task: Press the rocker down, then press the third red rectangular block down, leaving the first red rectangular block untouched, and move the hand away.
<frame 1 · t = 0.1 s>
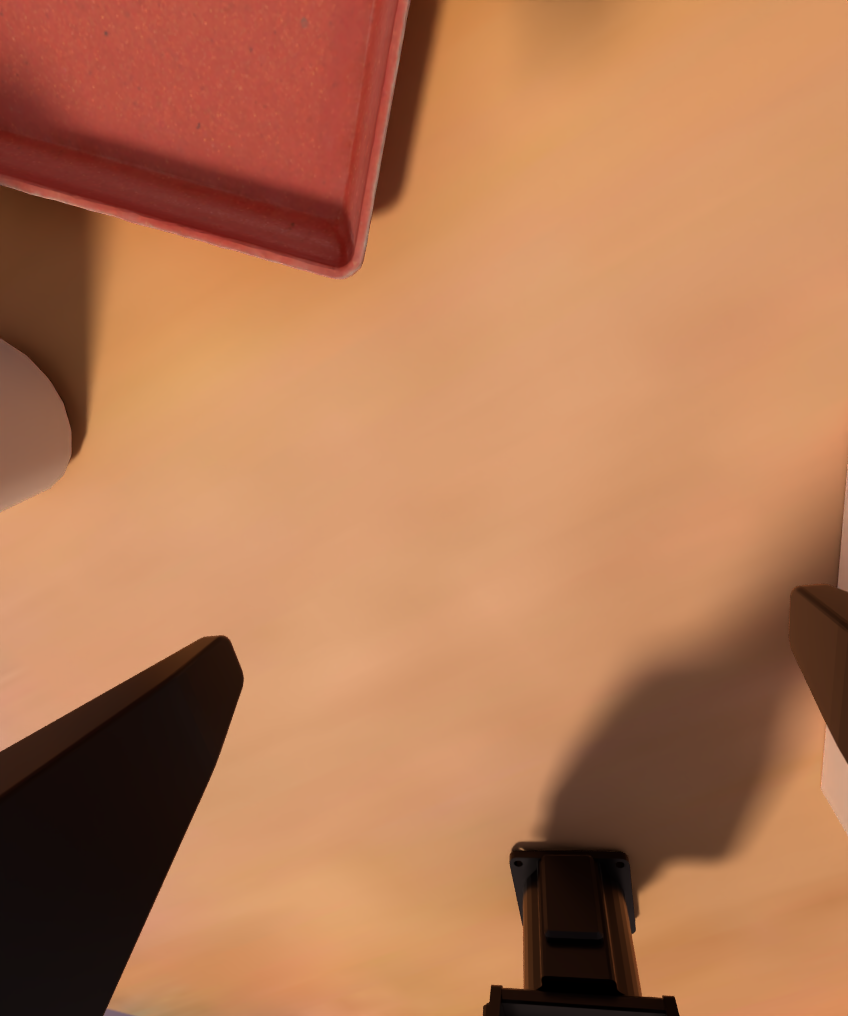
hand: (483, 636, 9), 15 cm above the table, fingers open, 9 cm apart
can: (13, 411, 26), on the table
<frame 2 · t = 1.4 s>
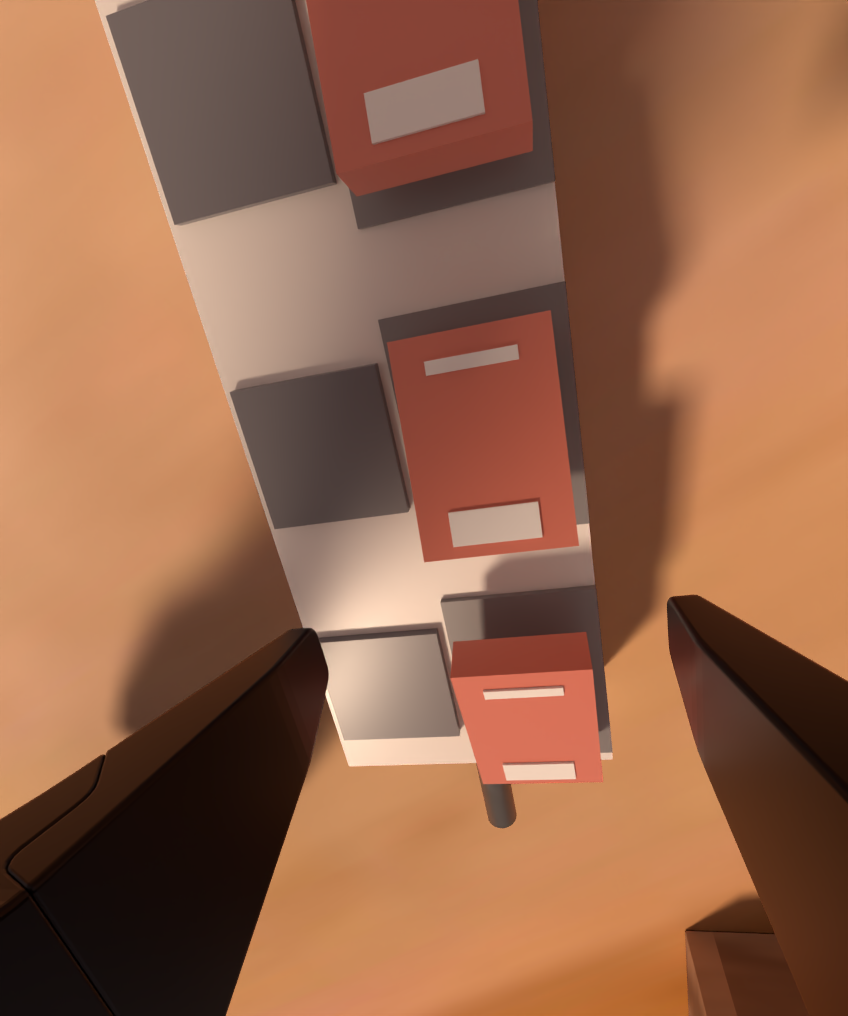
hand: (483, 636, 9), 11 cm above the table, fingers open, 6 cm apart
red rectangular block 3: (413, 8, 10), point 6 cm above the table, hinge at 12.0°
rocker 2: (485, 442, 13), point 6 cm above the table, hinge at 12.0°
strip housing: (424, 403, 18), on the table
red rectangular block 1: (530, 715, 16), point 6 cm above the table, hinge at -12.0°
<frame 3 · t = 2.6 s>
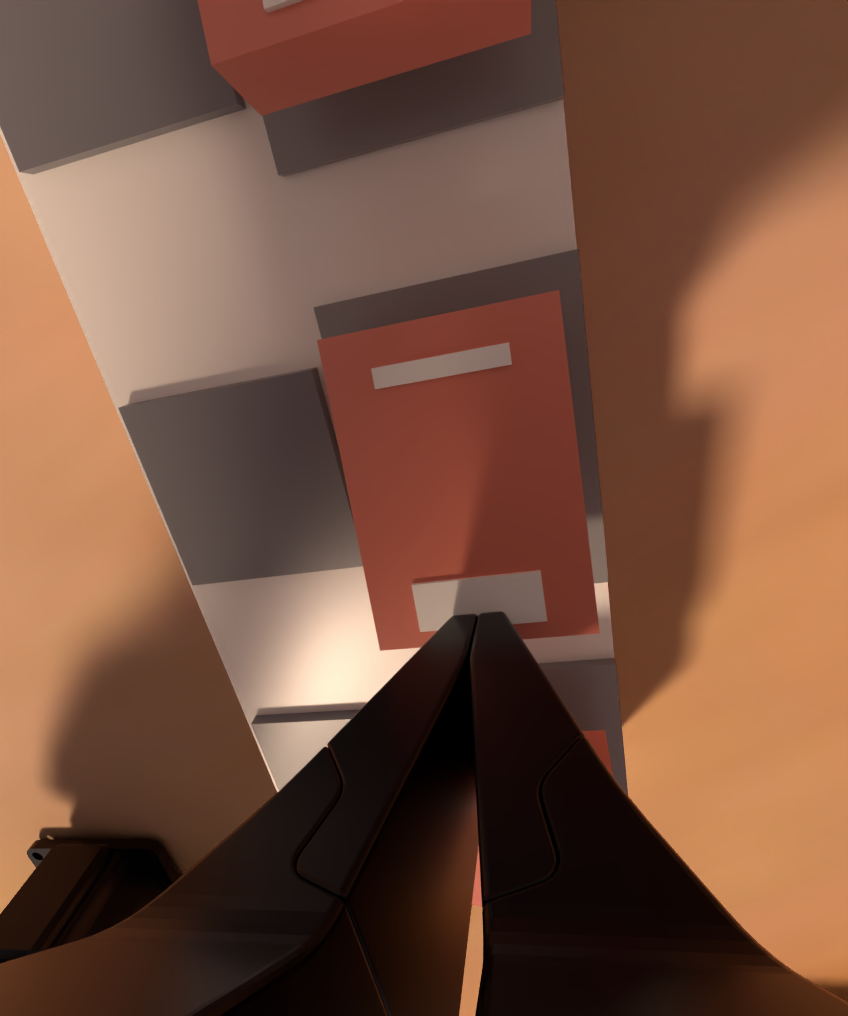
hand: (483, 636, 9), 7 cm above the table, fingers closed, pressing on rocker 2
rocker 2: (464, 482, 9), point 6 cm above the table, hinge at 11.0°, touching gripper
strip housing: (393, 415, 14), on the table
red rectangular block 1: (530, 828, 12), point 6 cm above the table, hinge at -12.0°
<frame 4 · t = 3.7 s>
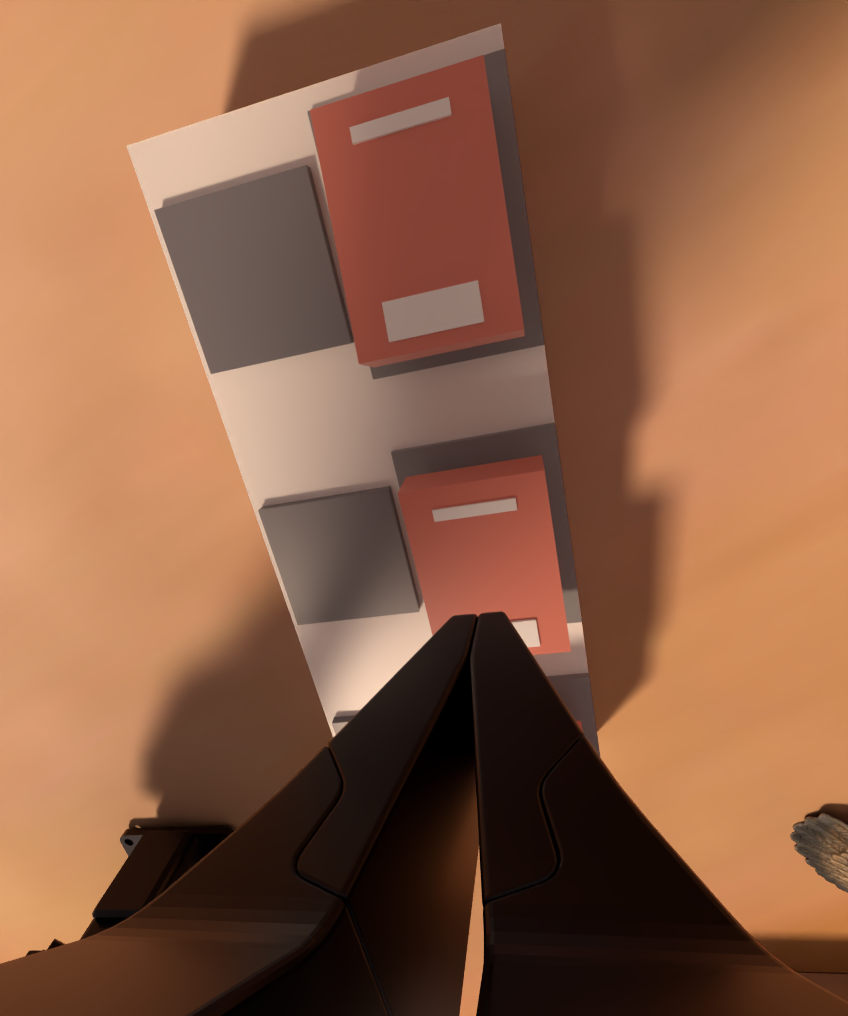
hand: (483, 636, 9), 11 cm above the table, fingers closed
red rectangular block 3: (422, 228, 12), point 6 cm above the table, hinge at 12.0°
rocker 2: (488, 564, 14), point 6 cm above the table, hinge at 0.3°
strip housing: (430, 498, 20), on the table
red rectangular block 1: (532, 792, 17), point 6 cm above the table, hinge at -12.0°
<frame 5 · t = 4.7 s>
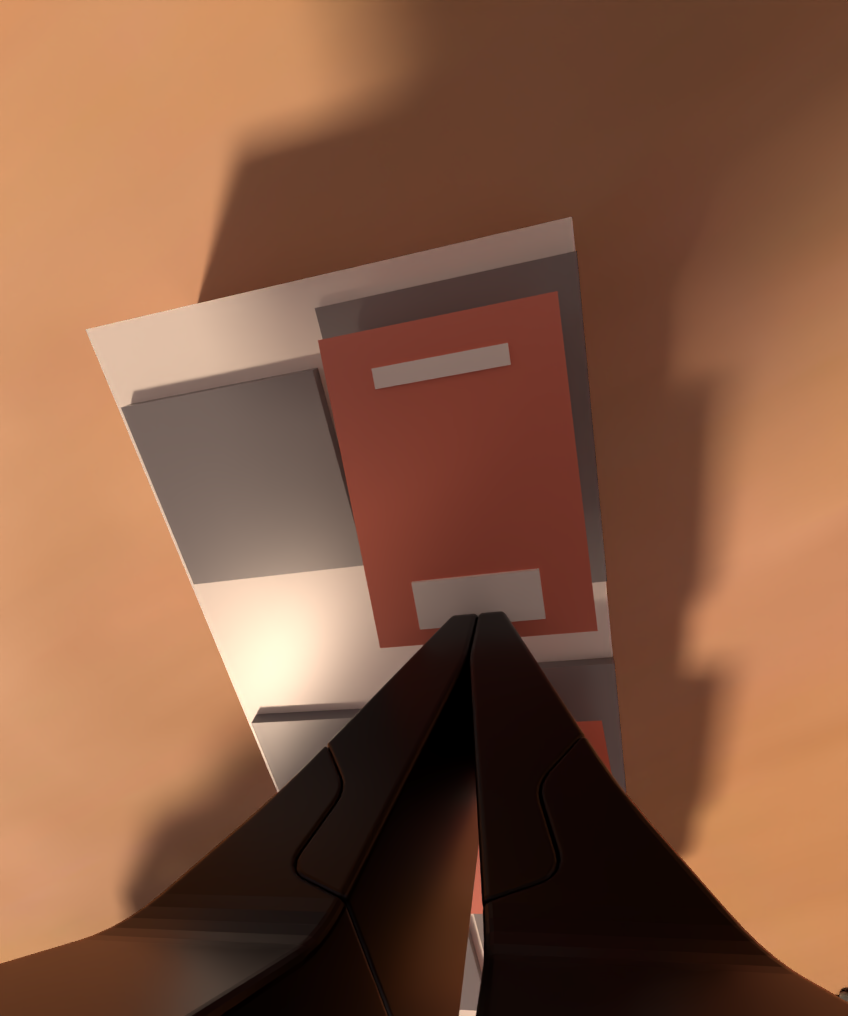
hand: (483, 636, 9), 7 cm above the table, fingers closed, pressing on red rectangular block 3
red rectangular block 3: (463, 481, 9), point 6 cm above the table, hinge at 10.7°, touching gripper
rocker 2: (529, 827, 12), point 6 cm above the table, hinge at -7.1°
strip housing: (450, 662, 18), on the table
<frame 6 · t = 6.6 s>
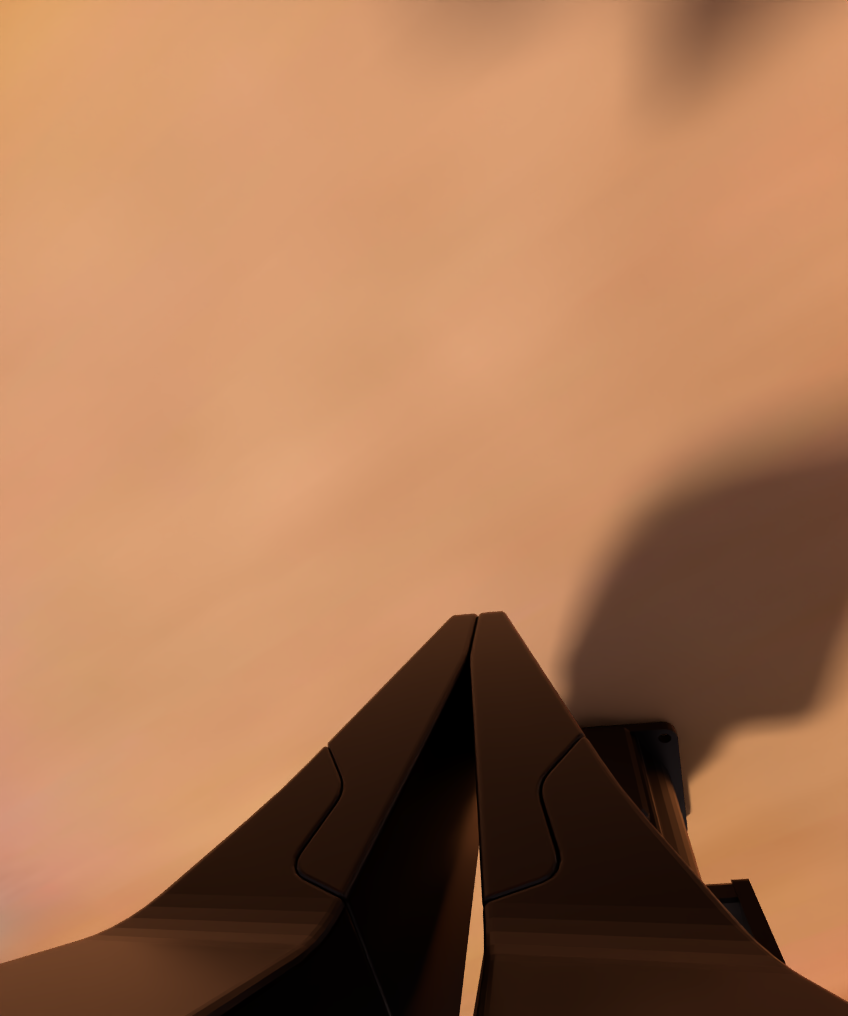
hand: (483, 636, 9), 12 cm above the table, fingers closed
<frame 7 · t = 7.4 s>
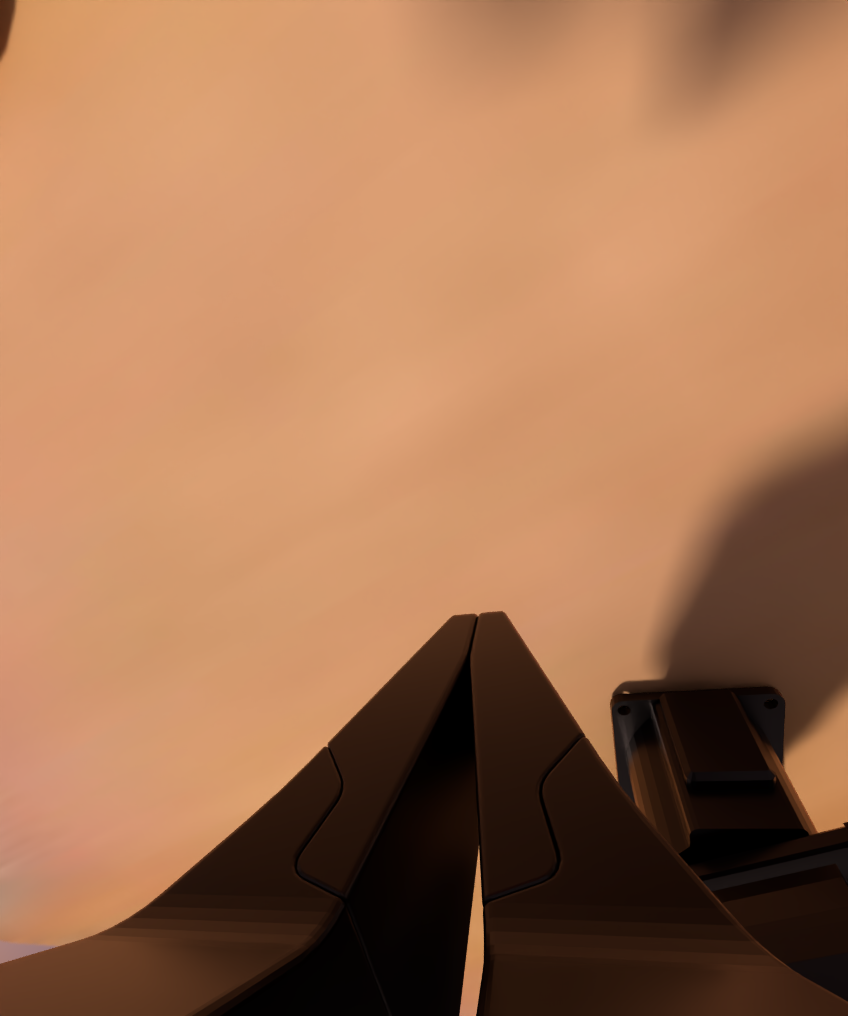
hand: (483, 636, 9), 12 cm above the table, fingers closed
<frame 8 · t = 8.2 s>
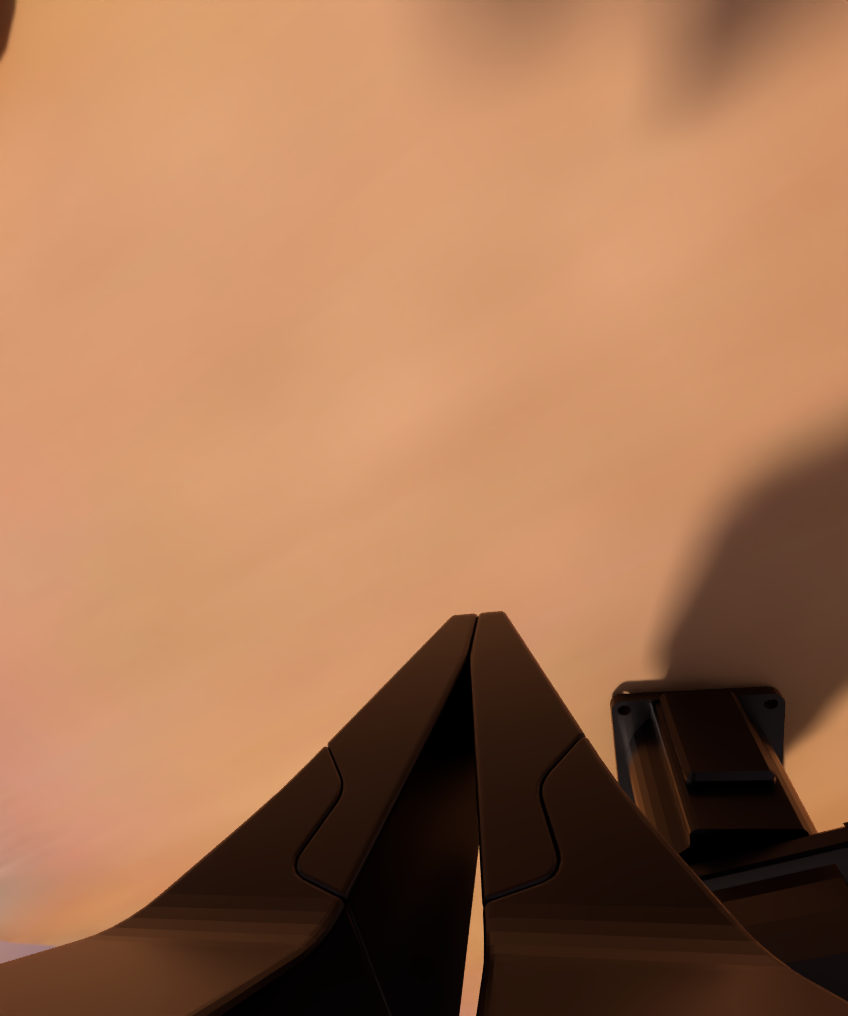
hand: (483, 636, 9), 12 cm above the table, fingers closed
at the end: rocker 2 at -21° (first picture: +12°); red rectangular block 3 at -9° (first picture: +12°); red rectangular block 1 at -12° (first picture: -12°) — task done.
